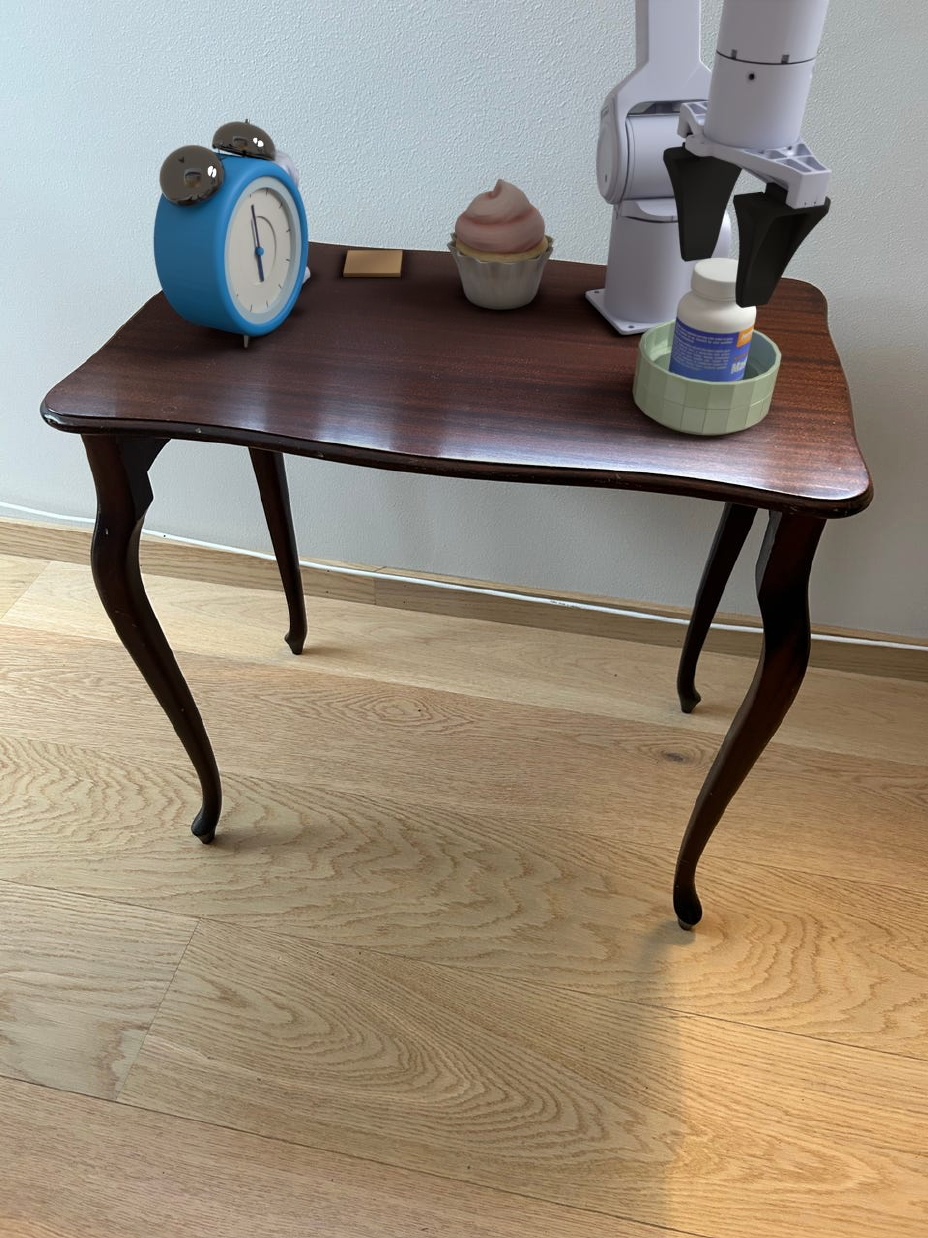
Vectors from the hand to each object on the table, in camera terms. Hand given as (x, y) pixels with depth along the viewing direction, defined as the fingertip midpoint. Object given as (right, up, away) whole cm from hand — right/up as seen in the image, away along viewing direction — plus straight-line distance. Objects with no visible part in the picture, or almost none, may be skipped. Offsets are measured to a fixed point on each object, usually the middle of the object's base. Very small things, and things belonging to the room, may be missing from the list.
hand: (722, 280), depth 65 cm
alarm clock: (-36, +2, +16) cm, 39 cm away
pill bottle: (0, -7, +6) cm, 9 cm away
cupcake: (-14, +6, +20) cm, 26 cm away
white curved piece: (-34, +7, +22) cm, 42 cm away
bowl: (0, -7, +7) cm, 10 cm away
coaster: (-26, +10, +25) cm, 38 cm away
